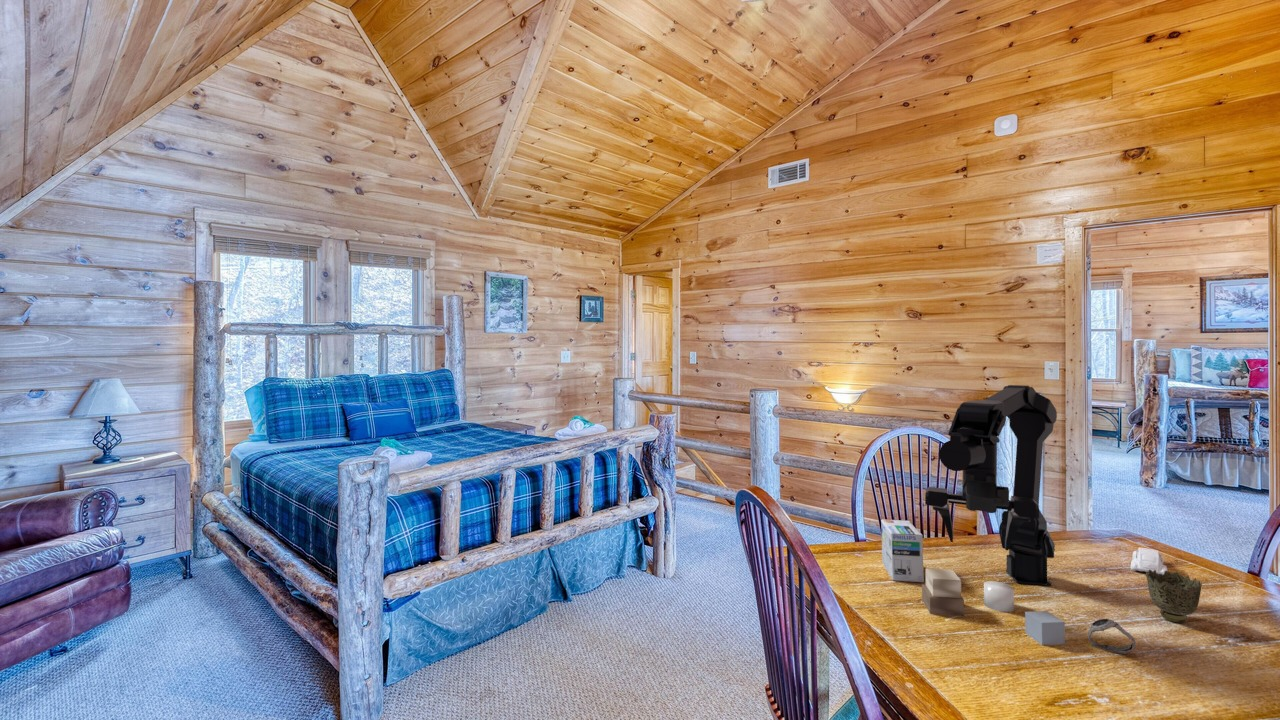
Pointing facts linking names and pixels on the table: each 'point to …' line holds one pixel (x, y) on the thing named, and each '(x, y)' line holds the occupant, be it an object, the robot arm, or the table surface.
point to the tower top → (943, 583)
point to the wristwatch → (1101, 626)
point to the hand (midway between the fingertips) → (978, 545)
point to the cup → (1174, 594)
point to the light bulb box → (902, 550)
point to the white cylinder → (999, 596)
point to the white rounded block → (1148, 561)
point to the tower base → (942, 604)
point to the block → (1045, 628)
